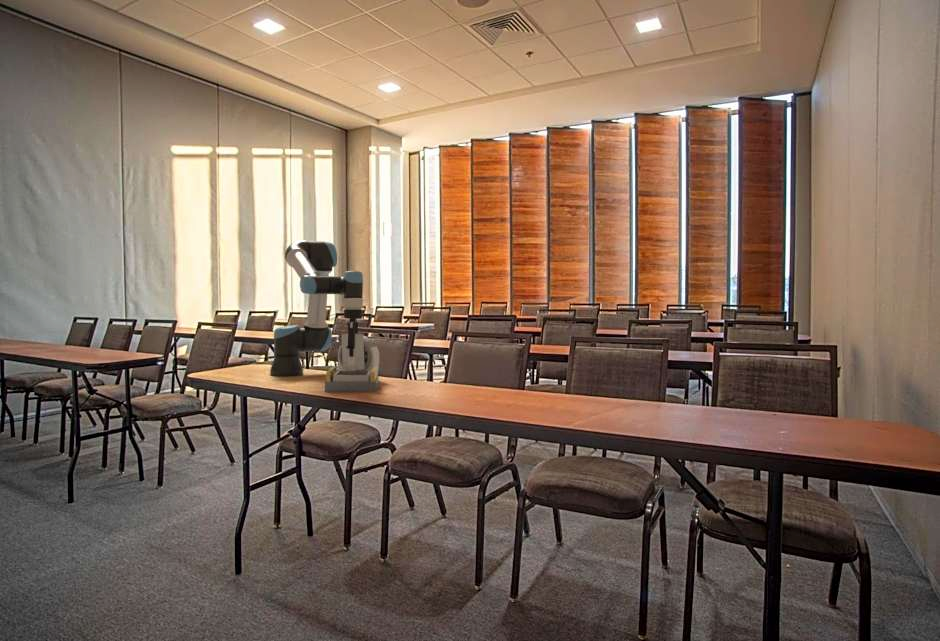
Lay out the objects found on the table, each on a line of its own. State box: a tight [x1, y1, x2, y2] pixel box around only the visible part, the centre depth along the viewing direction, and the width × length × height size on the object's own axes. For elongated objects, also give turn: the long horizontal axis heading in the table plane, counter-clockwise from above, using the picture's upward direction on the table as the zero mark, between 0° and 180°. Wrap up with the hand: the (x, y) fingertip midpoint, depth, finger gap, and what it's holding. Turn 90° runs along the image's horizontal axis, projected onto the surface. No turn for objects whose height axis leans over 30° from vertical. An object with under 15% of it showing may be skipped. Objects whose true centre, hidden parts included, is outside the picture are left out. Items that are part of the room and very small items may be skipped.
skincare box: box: [341, 333, 364, 370], centre depth 234 cm, size 8×6×15 cm
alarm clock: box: [337, 335, 380, 375], centre depth 258 cm, size 18×8×20 cm, turn 73°
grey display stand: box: [324, 366, 379, 393], centre depth 235 cm, size 16×20×9 cm
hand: (352, 363), depth 234 cm, fingers closed on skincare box, 10 cm apart
